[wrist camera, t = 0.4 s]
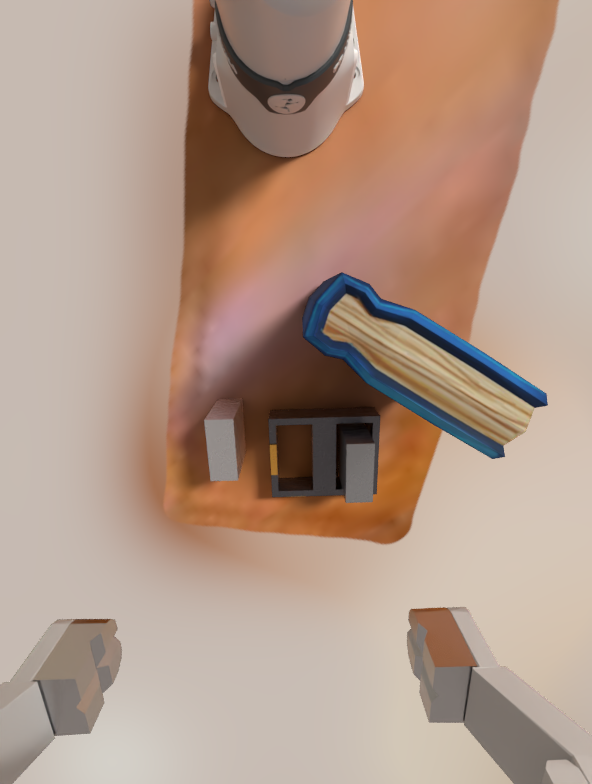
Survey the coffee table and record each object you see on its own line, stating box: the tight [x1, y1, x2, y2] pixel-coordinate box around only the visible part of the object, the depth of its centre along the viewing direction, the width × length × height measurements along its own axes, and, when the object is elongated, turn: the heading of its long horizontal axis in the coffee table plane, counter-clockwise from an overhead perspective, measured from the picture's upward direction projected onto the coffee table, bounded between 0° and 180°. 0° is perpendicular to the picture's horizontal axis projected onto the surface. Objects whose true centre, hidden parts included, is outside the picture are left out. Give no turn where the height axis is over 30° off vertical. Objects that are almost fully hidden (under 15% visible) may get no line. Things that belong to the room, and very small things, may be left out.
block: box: [204, 399, 246, 481], centre depth 52 cm, size 9×4×9 cm, turn 1°
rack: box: [268, 407, 380, 503], centre depth 53 cm, size 13×16×9 cm
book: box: [302, 273, 548, 459], centre depth 40 cm, size 22×7×25 cm, turn 59°
